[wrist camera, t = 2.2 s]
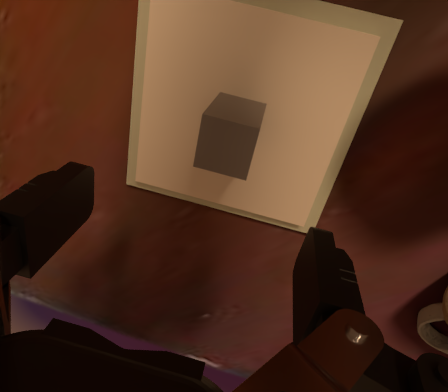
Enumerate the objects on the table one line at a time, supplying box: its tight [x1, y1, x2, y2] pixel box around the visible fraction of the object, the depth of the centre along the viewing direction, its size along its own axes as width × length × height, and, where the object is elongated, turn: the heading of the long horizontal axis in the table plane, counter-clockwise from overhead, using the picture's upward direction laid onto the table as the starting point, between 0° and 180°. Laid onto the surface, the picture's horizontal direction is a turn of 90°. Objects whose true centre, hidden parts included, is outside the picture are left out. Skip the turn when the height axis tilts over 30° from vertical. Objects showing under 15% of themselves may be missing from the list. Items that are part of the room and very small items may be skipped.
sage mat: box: [126, 0, 403, 233], centre depth 23 cm, size 15×15×1 cm
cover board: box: [135, 0, 380, 227], centre depth 20 cm, size 13×13×6 cm
